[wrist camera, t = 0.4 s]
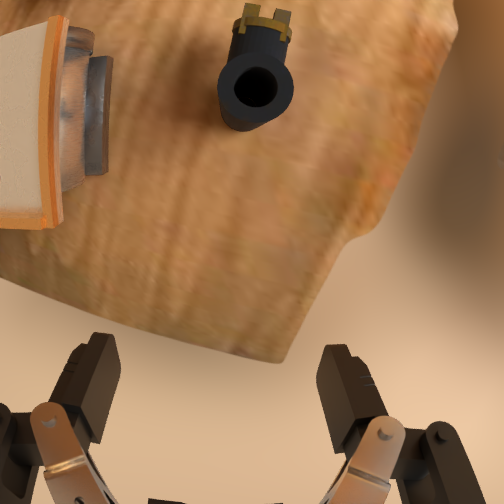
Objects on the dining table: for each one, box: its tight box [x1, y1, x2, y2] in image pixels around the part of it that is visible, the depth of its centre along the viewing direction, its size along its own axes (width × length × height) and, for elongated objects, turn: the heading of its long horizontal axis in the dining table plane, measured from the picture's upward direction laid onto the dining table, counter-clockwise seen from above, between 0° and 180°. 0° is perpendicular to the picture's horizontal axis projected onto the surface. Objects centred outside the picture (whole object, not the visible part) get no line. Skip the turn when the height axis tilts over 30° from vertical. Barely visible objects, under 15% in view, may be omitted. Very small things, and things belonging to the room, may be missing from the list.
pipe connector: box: [217, 3, 294, 131], centre depth 25 cm, size 12×5×15 cm, turn 169°
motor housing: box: [0, 15, 113, 230], centre depth 25 cm, size 18×12×14 cm, turn 175°
